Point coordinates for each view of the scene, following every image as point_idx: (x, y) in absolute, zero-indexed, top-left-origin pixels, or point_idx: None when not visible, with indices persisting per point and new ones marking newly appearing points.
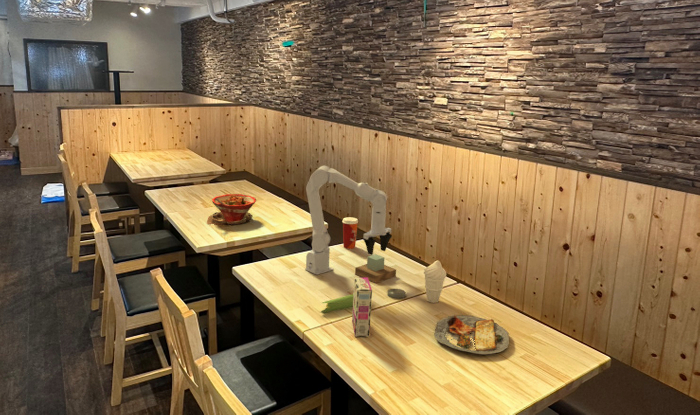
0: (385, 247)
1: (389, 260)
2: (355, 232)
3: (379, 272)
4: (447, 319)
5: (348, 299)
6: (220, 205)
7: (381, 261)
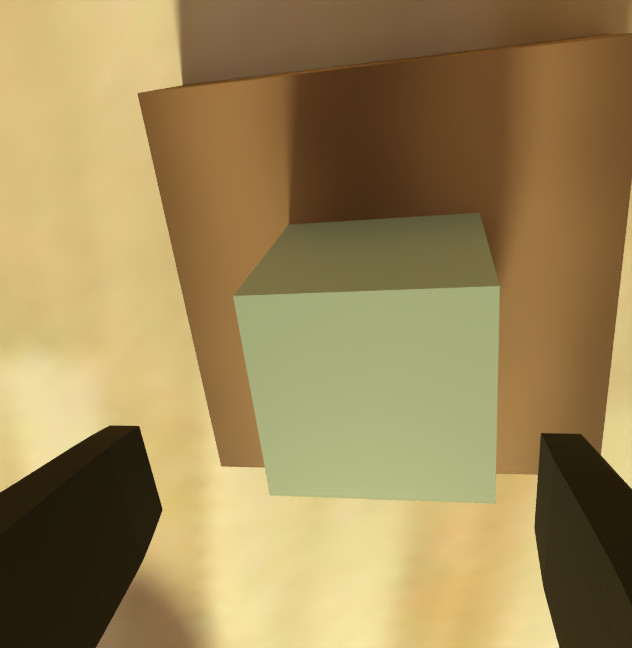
0: (72, 469)
1: (3, 460)
2: None
3: (458, 142)
4: None
5: None
6: None
7: (329, 268)
